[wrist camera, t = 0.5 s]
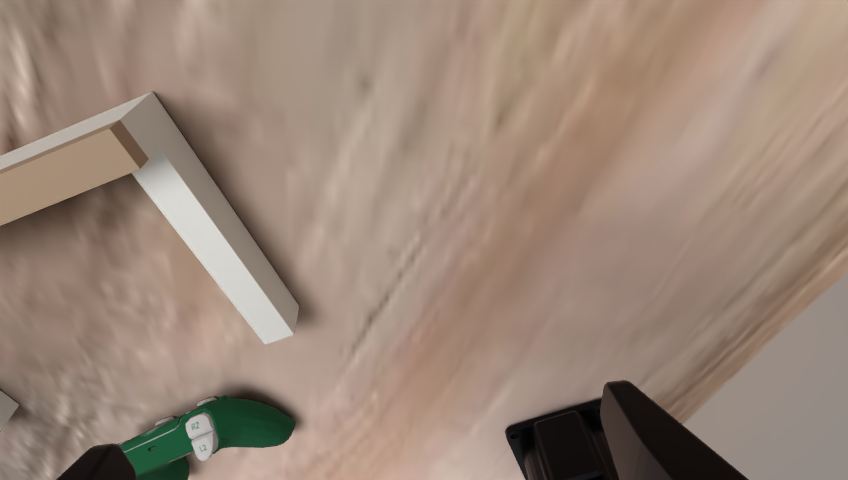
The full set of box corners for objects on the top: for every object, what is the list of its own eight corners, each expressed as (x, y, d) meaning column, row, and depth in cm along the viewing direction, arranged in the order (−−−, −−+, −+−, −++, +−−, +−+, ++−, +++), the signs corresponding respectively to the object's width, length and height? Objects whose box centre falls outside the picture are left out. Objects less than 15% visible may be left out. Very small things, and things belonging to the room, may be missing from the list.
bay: (299, 306, 25) (288, 363, 22) (-4, 413, 28) (-53, 479, 24) (152, 91, 19) (109, 128, 16) (-224, 251, 21) (-328, 311, 18)
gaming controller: (282, 371, 31) (215, 385, 25) (303, 434, 30) (239, 464, 24) (161, 428, 32) (73, 453, 27) (177, 488, 31) (90, 528, 26)
